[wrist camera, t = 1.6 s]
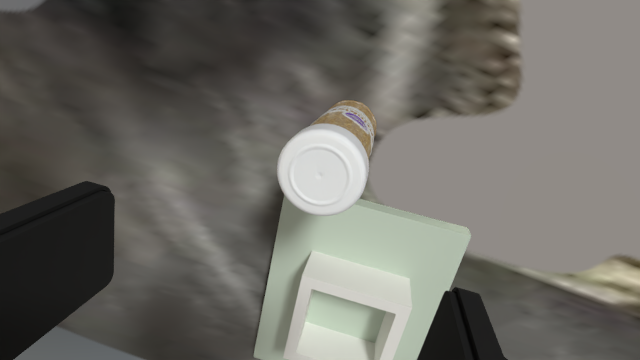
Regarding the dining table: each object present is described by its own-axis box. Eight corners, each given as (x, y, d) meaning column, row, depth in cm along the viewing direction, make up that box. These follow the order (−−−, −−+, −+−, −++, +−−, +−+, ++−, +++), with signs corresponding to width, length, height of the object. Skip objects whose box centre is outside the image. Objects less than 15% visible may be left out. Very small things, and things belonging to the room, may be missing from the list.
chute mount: (290, 180, 32) (271, 203, 27) (467, 227, 31) (483, 261, 26) (258, 346, 39) (238, 389, 34) (401, 391, 38) (402, 444, 33)
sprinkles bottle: (385, 111, 29) (382, 151, 16) (363, 161, 31) (346, 232, 18) (332, 90, 29) (290, 115, 17) (314, 141, 31) (263, 198, 18)
